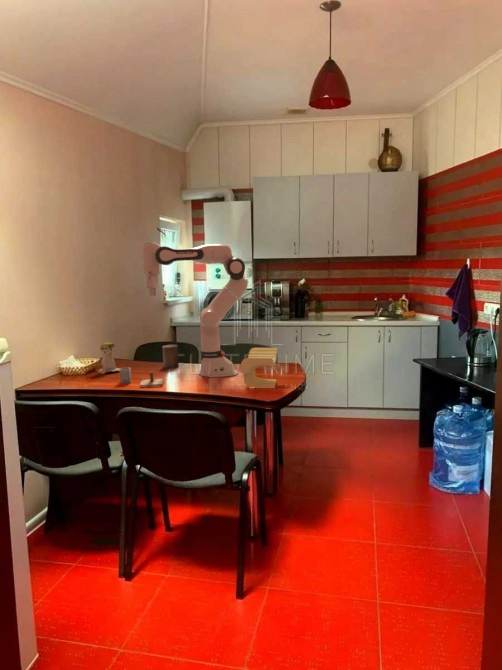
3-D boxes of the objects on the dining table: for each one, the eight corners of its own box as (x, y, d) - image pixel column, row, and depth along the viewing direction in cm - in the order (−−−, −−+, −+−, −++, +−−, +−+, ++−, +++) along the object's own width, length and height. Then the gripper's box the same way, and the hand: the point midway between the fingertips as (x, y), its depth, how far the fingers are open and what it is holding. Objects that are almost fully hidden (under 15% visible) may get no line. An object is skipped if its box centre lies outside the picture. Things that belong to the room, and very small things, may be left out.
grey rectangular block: (131, 381, 288) (130, 367, 287) (130, 383, 283) (129, 369, 282) (121, 381, 287) (121, 367, 286) (120, 383, 282) (119, 369, 281)
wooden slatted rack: (249, 378, 288) (248, 347, 286) (277, 378, 286) (277, 347, 283) (241, 392, 259) (240, 358, 256) (272, 393, 257) (272, 358, 254)
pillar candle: (181, 366, 324) (180, 343, 322) (170, 369, 317) (168, 345, 315) (172, 365, 330) (170, 342, 328) (160, 367, 323) (158, 344, 321)
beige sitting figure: (122, 372, 312) (121, 342, 309) (101, 374, 306) (99, 344, 303) (118, 368, 322) (116, 340, 319) (97, 371, 316) (95, 342, 313)
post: (163, 381, 286) (163, 370, 285) (162, 386, 274) (161, 374, 273) (142, 382, 285) (141, 370, 284) (139, 387, 273) (139, 375, 272)
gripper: (154, 270, 279) (156, 296, 281) (159, 271, 299) (160, 295, 301) (143, 271, 279) (144, 296, 280) (148, 272, 299) (149, 295, 301)
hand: (152, 295), depth 291 cm, fingers open, 8 cm apart
